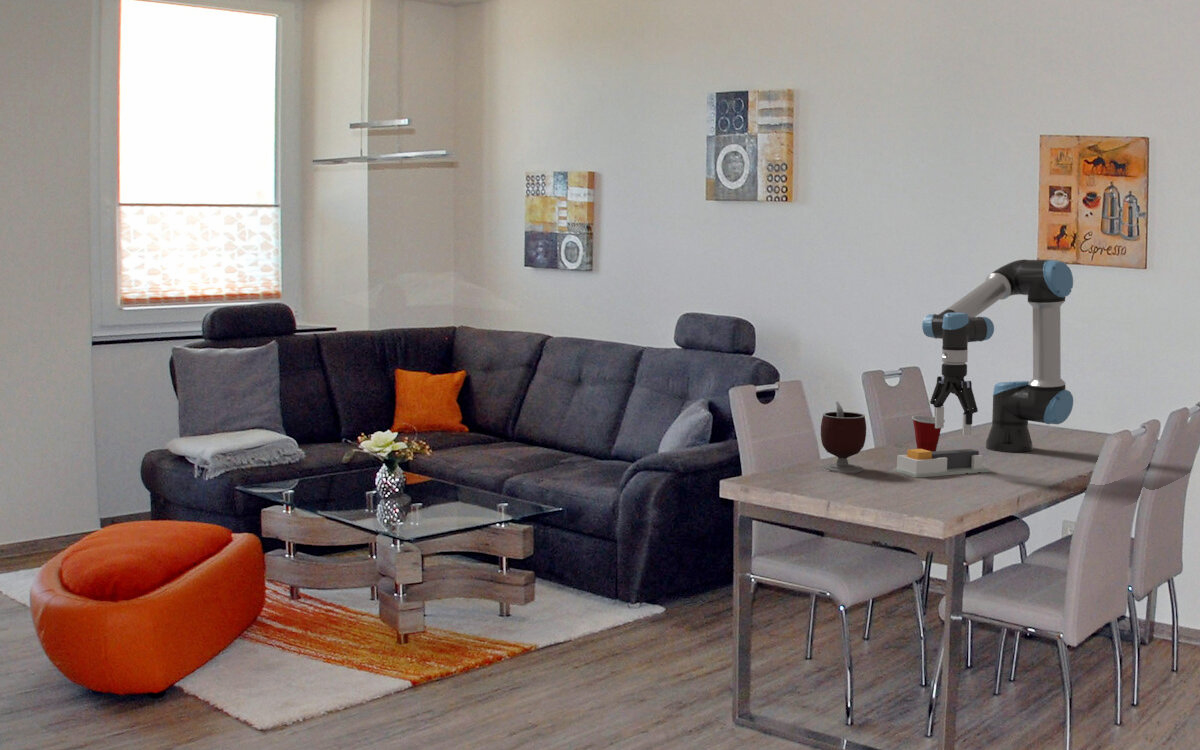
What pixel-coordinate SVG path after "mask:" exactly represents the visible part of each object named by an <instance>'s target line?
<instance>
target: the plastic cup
mask: <svg viewBox="0 0 1200 750" xmlns="http://www.w3.org/2000/svg"><path fill="white" fill-rule="evenodd" d="M911 418H912V423H913V427H914V428H913V429H914V436H915V444H916V449H924V450H928V451H931V452H934V451H937V448H938V444H939V439H940V436H941V432H942V431H941V430H942V428H935V416H929V415H913V416H911ZM945 422H946V421H945V419H944V423H945Z"/></svg>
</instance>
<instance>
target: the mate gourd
mask: <svg viewBox="0 0 1200 750" xmlns="http://www.w3.org/2000/svg"><path fill="white" fill-rule="evenodd" d="M835 404H836V411H827V412H823V413H822V418H821V423H820V439H821V440H820V441H821V444H822V446H823V448H824V450H825V451H826V452H827V453H829V454H831V455H833V456H835V457H836V458H837V460H836V462H835V463H826V464H824V465H822V466H821V468H822V467H823V468H824V469H826V470H829V471H828V472H830V471H834V472H833V473H838V472H840V474H853V473H854V474H855V473H860V472H863V466H860V465H858V464H852V463H849V460H848V458H850V457H852V456H854V455H858V454H859V453H860V452H861V451H862V450H863V448H864V447H865V443H866V437H867V422H866V417H865V416H866V415H865V414H863V413H860V412H854V411H853V412H851V411H844V410H843V407H842V406H841V404H840V402H839V401H836V402H835ZM826 470H825V471H826Z"/></svg>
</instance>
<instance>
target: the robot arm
mask: <svg viewBox="0 0 1200 750" xmlns="http://www.w3.org/2000/svg"><path fill="white" fill-rule="evenodd" d="M1073 286H1074V276H1073V272H1072V270H1071V268H1070V267H1069V266H1068V265H1067V263H1065V262H1064V261H1062V260H1053V259H1019V260H1014V261H1011V262H1009V263H1007V264H1005V265H1002V266H1000V267H999V268H997V269H996V270H993V272H990V274H989V275H987V277H986V278H985V281H984V282H982V283H981V284H979V285H978V286H977V287H976V288H974V289H973V290H971V291H970V292H968V293H967V294H965V295H964V296H963V297H961V298H960V299H958V300H957V301H956V302H954V303H953V304H952V305H950V306H948V307H947V308H946V309H945V310H943V311H942V312H940V313H939V314H936V313H931V314H928V315H926V316H925V317H924V318H923V320H922V324H921V325H922V326H921V329H922V333H923V334H924V336H925V337H927V338H933V339H936V340H937V339H941V340H942V346H941V347H942V351H941V352H942V353H941V362H943V363H942V364H941V376H937V377H936V383H935V387H934V390H933V393H932V395H931V399H930V405H933V407H934V417H935V428H941V429H944V423H945V422H944V420H945V407H944V403H945V402H946V400H947V399H948V397H949V395H950V394H954V396H956V398H957V399H958V402H959V403H960V405H961V408H962V410H963V413H962V427H961V428H962V434H961V435H962V436H971V435H972V425H973V414H975V413H978V406H977V403H976V399H975V396H974V393H973V388H972V384H973V383H972V381H971V380H965V377H966V376H968V364H967V362H968V357H969V356H968V353H969V351H968V343H974V342H975V343H976V342H984V341H987V340H989V339H991V338H992V337H993V335H994V333H995V324H994V322H993V321H992V319H990V318H989V317H987V316H979V315H980V314H982V313H983V312H984V311H986V310H987V309H988V308H990V307H991V306H993V305H994V304H995V303H997V302H998V301H1001V300H1005V299H1007V298H1009V297H1011V296H1017V295H1018V296H1019V295H1024V296H1027V303H1028V304H1029V305H1030V306H1031V307H1032V378H1031V380H1030V381H1029V380H1018V381H1017V380H1016V381H1015V380H1014V381H1004V382H1003V381H1001V382H997V383H996V384H994V387H993V394H992V397H993V398H992V417H991V419H992V421H991V427H990V430H989V432H988V436H987V438H986V441H985V448H986V449H989V450H993V451H998V452H1006V453H1008V452H1010V453H1017V452H1018V453H1022V452H1023V453H1024V452H1025V453H1026V452H1031V451H1033V441H1032V438H1031V434H1030V430H1029V422H1036V423H1043V424H1045V425H1060V424H1062V423H1064V422H1065V421H1067V419H1068V418H1069V416H1070V414H1071V413H1072V410H1073V406H1074V397H1073V394H1072V392H1071V391H1070V390H1068V389H1066V382H1065V381H1064V380H1063V379H1062V376H1061V374H1062V373H1061V370H1062V369H1061V367H1062V366H1061V362H1062V361H1061V307H1062V305H1064V304H1065V302H1066V297H1068V296H1069V295H1070V294H1071V292H1072V289H1073Z"/></svg>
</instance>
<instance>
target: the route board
mask: <svg viewBox="0 0 1200 750" xmlns="http://www.w3.org/2000/svg"><path fill="white" fill-rule="evenodd" d="M896 457H897V459H896V460H897V461H896V467H895V468H894V471H895V472H897V473H900V474H904V475H907V476H910V477H914V478H926V477H927V478H928V477H940V476H952V475H953V476H954V475H965V474H966V473H968V474H979V473H978V472H981V473H990V472H991V471H990V470H991V468H990V467H989V468H988V467H986V466H983V455H982V454H979V455H972V463H971V467H970V468H957V469H947V458H945V457H943V458H937V459H923V460H916V459H913V458H909V457H907V454H897V455H896Z"/></svg>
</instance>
